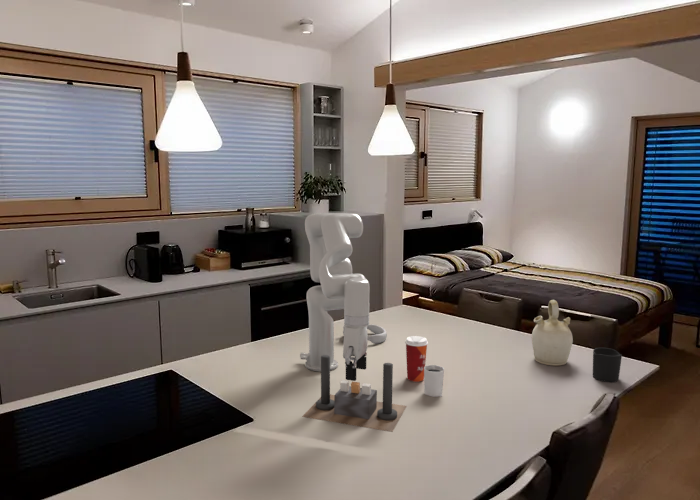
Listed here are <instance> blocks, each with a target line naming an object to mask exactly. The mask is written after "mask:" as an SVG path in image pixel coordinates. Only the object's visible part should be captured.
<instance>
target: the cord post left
mask: <svg viewBox="0 0 700 500" xmlns="http://www.w3.org/2000/svg"><path fill="white" fill-rule="evenodd" d="M330 394H331V370H330V356H328V355H323V356H321V371H320V397H321V399H320V400H319V399H317V401H316V402H315V403H316V408H317V409H319V410H325V411H326V410H332V409H334V400H332V399H330Z"/></svg>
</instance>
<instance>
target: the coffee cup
mask: <svg viewBox="0 0 700 500" xmlns="http://www.w3.org/2000/svg"><path fill="white" fill-rule="evenodd" d="M404 343H405V351H406V352H405V357H406V375H407V380H408V381H411V382H413V383H414V382H415V383H416V382H423V381H424V367H425V366H426V361H427V360H426V359H427V349H428V344H429V341H428V340H427V338H426V337H425V336H420V335H410V336H407V338H406V340H405V341H404Z"/></svg>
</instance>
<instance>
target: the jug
mask: <svg viewBox="0 0 700 500" xmlns="http://www.w3.org/2000/svg"><path fill="white" fill-rule="evenodd" d="M547 306H548V307H547V312H548V319H545V320H544V319H543V318H544V317H543V316H542V315H538V316H536V317H534V319H533V322H534V323H535V326H534V328H533V330H532V331H531V332H532V333H531V344H532V350H533V352H532V354H533V356H534V358H533V359H534V360H535V361H536V362H537V363H539V364H542V365H546V366H555V367H556V366H557V367H558V366H564V365H566V364H567V363H568V359H569V356H570V353H571V352H572V351H571V350H572V347H573V346H572V345H573V343H574V340H573V333H572V331H571V329H570V327H569V325H570V324H571V323H570V322H571V317H569V316H568V317H566V318H563V320H562V321H560V320H559V319H558V318H559V315H560V313H559V312H560V308H559V303H558V301H557V300H555V299H551V300H549V302H548V305H547Z"/></svg>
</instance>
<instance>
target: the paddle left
mask: <svg viewBox="0 0 700 500" xmlns="http://www.w3.org/2000/svg"><path fill="white" fill-rule="evenodd" d="M349 386H350V380H346V379H341V380H340V382H339V390H340V389H341V391H345V392H348V391H349Z"/></svg>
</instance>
